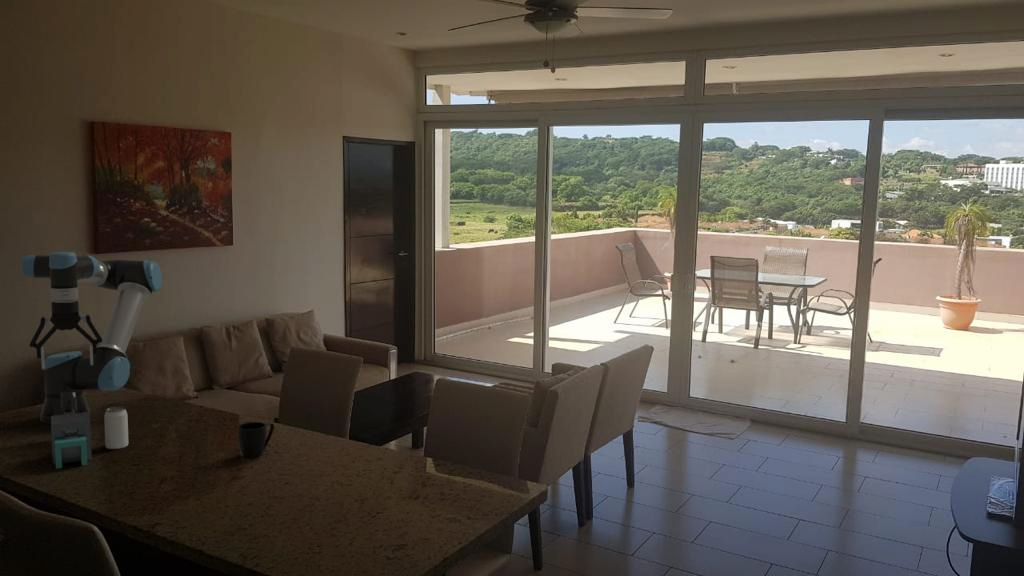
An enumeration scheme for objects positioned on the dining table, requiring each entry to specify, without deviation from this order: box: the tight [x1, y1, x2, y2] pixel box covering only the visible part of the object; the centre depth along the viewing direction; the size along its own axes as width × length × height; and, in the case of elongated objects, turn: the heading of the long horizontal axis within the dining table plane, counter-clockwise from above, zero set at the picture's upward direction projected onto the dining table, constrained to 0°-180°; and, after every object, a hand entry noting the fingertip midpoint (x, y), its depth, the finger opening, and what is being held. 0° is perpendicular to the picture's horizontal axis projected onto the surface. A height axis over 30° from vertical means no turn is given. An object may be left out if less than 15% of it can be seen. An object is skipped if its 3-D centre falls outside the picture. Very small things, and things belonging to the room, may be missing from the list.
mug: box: [237, 421, 275, 460], centre depth 242 cm, size 8×12×10 cm
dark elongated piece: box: [61, 390, 78, 438], centre depth 244 cm, size 26×4×9 cm, turn 30°
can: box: [104, 406, 129, 450], centre depth 246 cm, size 6×6×12 cm
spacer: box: [55, 436, 88, 470], centre depth 229 cm, size 4×8×8 cm, turn 120°
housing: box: [50, 412, 93, 465], centre depth 235 cm, size 10×10×12 cm
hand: (67, 366), depth 252 cm, fingers open, 13 cm apart
